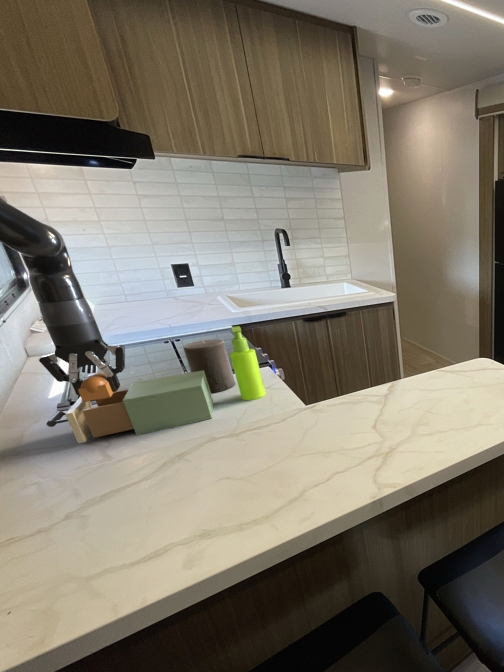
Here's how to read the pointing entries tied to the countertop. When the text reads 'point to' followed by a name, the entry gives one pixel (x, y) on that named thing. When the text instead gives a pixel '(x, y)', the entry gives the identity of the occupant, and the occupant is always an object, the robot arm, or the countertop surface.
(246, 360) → the soap dispenser
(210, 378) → the pillar candle
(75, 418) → the drawer
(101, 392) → the orange domed block
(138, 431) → the cabinet
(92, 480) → the countertop surface
